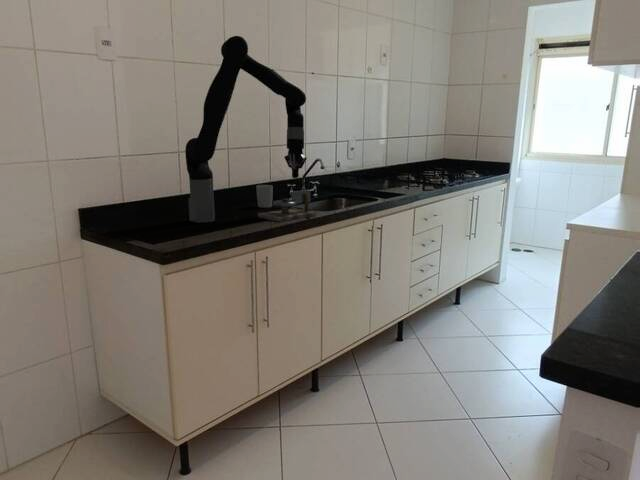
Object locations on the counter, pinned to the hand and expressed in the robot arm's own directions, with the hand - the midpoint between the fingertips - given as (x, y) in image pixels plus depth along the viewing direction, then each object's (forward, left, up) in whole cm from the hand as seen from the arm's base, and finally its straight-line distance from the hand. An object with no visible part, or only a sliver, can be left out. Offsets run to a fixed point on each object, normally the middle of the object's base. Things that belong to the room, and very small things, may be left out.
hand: (295, 177), depth 219 cm
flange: (-6, -6, -10) cm, 13 cm away
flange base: (-9, -5, -16) cm, 19 cm away
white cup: (0, +22, -16) cm, 27 cm away
